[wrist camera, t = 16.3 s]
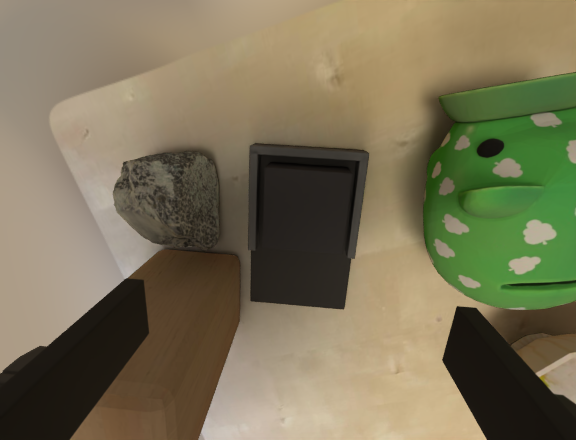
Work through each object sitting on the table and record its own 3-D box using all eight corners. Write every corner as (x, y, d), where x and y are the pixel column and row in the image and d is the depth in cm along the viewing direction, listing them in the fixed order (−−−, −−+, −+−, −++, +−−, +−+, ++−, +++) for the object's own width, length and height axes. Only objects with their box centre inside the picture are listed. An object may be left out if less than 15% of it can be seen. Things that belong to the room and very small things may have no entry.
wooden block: (165, 315, 39) (32, 496, 21) (159, 245, 36) (-4, 382, 17) (241, 322, 39) (176, 514, 20) (242, 252, 36) (165, 400, 17)
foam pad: (267, 233, 34) (261, 247, 30) (270, 161, 31) (264, 167, 27) (339, 239, 33) (342, 254, 30) (347, 166, 31) (352, 173, 27)
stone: (204, 231, 24) (81, 190, 24) (206, 272, 33) (116, 242, 32) (243, 148, 29) (142, 112, 29) (236, 202, 38) (158, 175, 37)
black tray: (343, 304, 37) (346, 320, 34) (251, 296, 38) (247, 311, 35) (364, 150, 31) (369, 153, 28) (255, 143, 32) (249, 145, 29)
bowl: (429, 330, 37) (469, 401, 28) (596, 260, 33) (711, 317, 24) (486, 432, 42) (537, 523, 32) (639, 382, 38) (750, 470, 28)
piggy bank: (552, 77, 28) (803, 32, 14) (535, 254, 33) (702, 352, 19) (395, 103, 30) (473, 88, 15) (403, 268, 35) (467, 369, 21)
